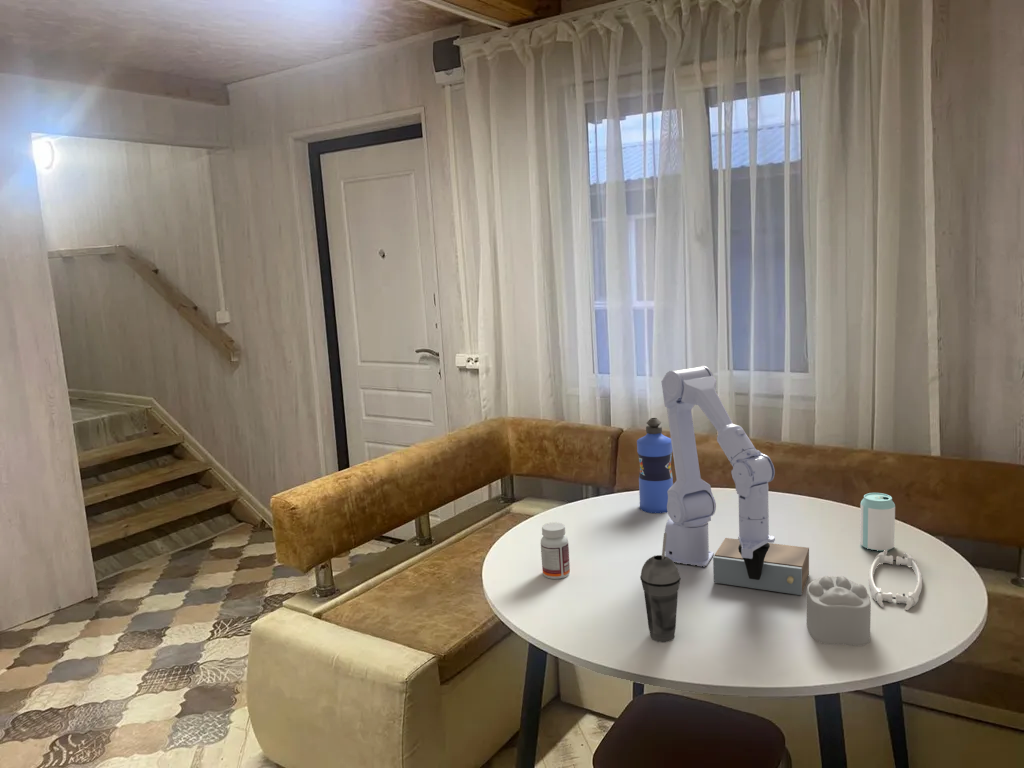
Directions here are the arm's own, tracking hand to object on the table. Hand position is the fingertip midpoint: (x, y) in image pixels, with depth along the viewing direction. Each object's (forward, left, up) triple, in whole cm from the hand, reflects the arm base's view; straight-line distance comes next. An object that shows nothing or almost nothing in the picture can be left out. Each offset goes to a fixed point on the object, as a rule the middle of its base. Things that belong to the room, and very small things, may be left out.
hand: (754, 578), depth 158 cm
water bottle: (-34, +42, -3) cm, 55 cm away
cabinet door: (0, +1, -3) cm, 3 cm away
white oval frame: (+25, +14, -4) cm, 29 cm away
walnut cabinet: (0, +7, -3) cm, 8 cm away
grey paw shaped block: (+16, -9, -3) cm, 19 cm away
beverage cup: (-12, -24, -3) cm, 27 cm away
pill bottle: (-42, -6, -3) cm, 43 cm away
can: (+21, +32, -3) cm, 39 cm away
